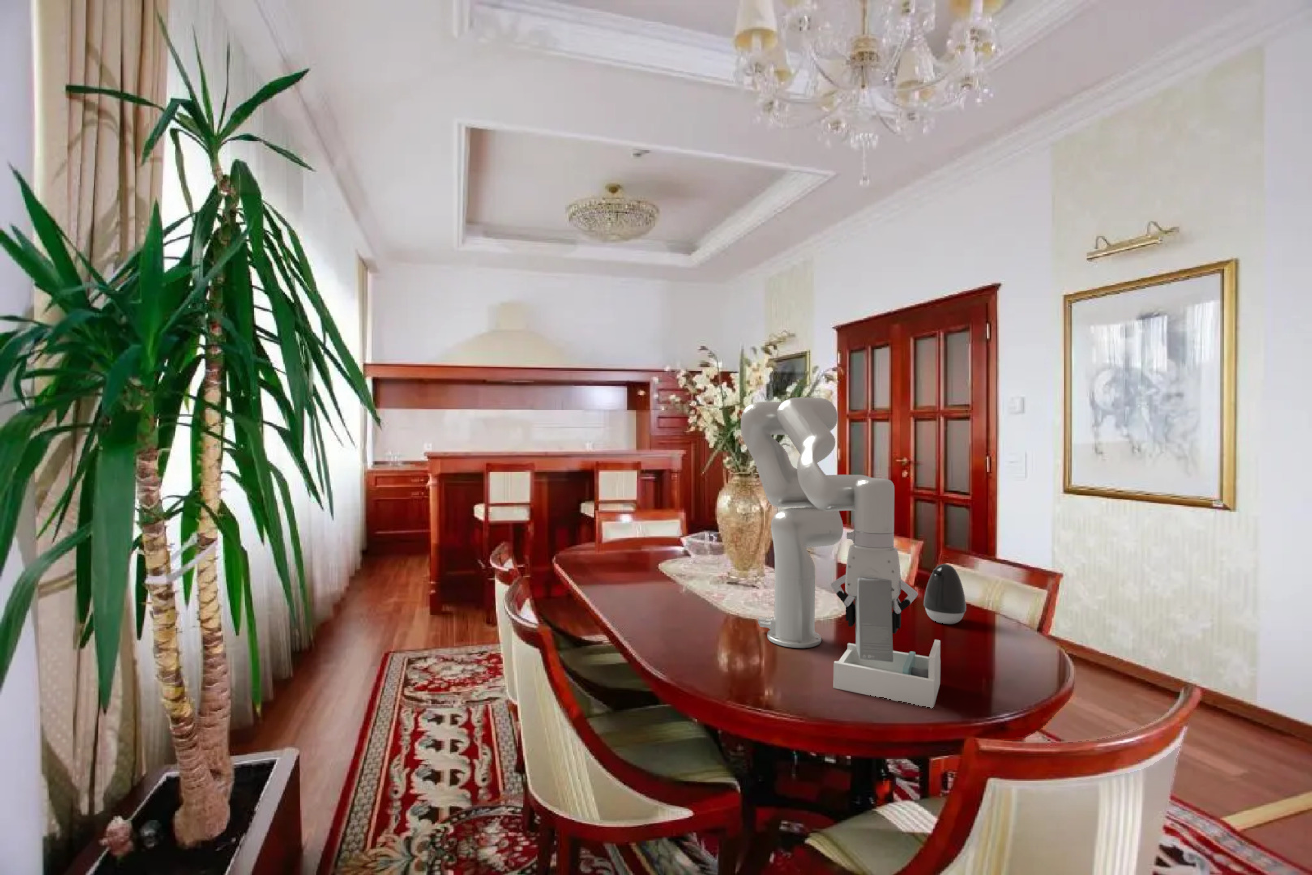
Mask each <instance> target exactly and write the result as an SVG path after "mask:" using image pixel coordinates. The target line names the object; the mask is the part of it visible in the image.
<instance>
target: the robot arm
mask: <svg viewBox="0 0 1312 875" xmlns="http://www.w3.org/2000/svg"><path fill="white" fill-rule="evenodd" d="M740 418H741V419H740V431H741V433H740V434H741V436H742V440H743V442H744V445H745V447H746V449H747V450H748V452H749V454H750V456H751V457H752V459H753V461H754V465H755V467H756V470H757V474H758V476H759V480H760V482H761V485H762V488H763V490H764V494H765V497H766V499H767V501H768V502H769V504H770V505H771V506H773V507H777V508H785V509H782V510H781V509H780V510H779V511H778V512H776V513H775V514H774V515H773V516H772V519H771V524H770V531H771V537H772V543H773V552H774V605H773V606H774V609H773V610H774V616H772V617H771V618H769V617H766V616H758V619H757V623H758V625H759V627H761V628H768V629H769V630H768V631H767V634H766V635H767V639H768V640H769V642H771V643H773V644H775V645H778V646H782V647H784V648H785V647H786V648H793V649H806V648H809V649H810V648H814V647H817V646H819V645H820V644H821V642H822V636H821V634H820V633H818V632H816V631H815V628H816V627H815V624H816V618H815V617H816V615H815V614H816V567H815V566H816V565H815V561H814V560H813V558H812V557H811V555H810V553H809V552H808V548H809V549H810V548H818V547H826V546H827V547H829V546H834V545H836V544H837V543H839V542H840V541H841V540H842V537H843V534H844V524H843V520H842V517H841V513H840V512H842V511H843V512H845V511H848V512H849V511H854V516H853V520H854V522H853V524H854V525H853V526H854V527H853V530H852V531H851V532H849V531H848V532H846V540H847V539H848V540H851V541H852V542H853V543H852V544H851V545H849V547H848V553H847V557H846V559H847V560H846V565H845V566H846V568H845V574H843V575H842V576H840V577H838V578H837V579H835V580H833V581H832V582H831V583H830V586H831V588H832V589H833V591H834V592H835V593H836V595H837V597H838V598H839V600H841V601H842V603H843V605H844V607H845V621H846V622H847V624H848V627H850V628H852V627H853V626H855V597H857V578H871V579H882V580H890V581H892V582H891V585H892V634H897V632H898V630H899V629H901V626H902V612H903V611H904V610H905V609H907V608H908V607H909V606H910V605H911V604H912V602H914V600H915V599H917V597H918V595H919V593H918V591H916V589H914V588H913V587H912V586H910V584H908V583H907V582H906V581H904V580H903V579H902V578H901V576H902V575H901V565H900V564H901V562H900V557H899V551H898V548H897V547H895V545H894V543H895V485H894V483H893V481H892V480H890V479H889V478H882V477H881V478H880V477H871V476H868V475H864V474H826V473H825V472H824V471H823V469H822V468H821V467H820V465H819V464H818V463H820V462H821V461H824V460H825V459H826V458H827V457H828V456H829V455H831V453H832V452H833V451H834V449H835V446H836V438H835V436H834V434H833V433H832V432H831V431H833V430H834V428H835V427H836V426H837V423H838V420H839V418H838V410H837V409H836V407H835V405H834V404H833V403H832V401H831V400H829V399H826V398H822V397H803V396H802V397H800V396H799V397H790V398H788V399H785V400H784V401H758V402H753V403H751V404H748V405H747V406H746V407H745V408H744V409H743V411H742V414H741V417H740ZM772 435H774V436H775V435H777V436H780V435H782V436H787V437H788V438H789V439H790V442H792V444H793V446H794V447H795V449H796V450H797V452H798V453H799V457H798V461H797V466H796V467H797V468H795V467H794V466H793V465H792V463H791V460H790V457H789V455H788V452H787V450H786V449H785V448H784V446H782V444H781V443H779V442H778V441H777V440H776V439H775V438H774V437H773V436H772ZM843 584H845V585H844V586H845V589H844V590H845V591H844V590H843V588H842V586H841V585H843ZM902 591H904V593H905V594H907V596H906V597H905V598H904V599H903V600H902V601H901V600H900V599H899V596H900V595H901V592H902Z"/></svg>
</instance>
